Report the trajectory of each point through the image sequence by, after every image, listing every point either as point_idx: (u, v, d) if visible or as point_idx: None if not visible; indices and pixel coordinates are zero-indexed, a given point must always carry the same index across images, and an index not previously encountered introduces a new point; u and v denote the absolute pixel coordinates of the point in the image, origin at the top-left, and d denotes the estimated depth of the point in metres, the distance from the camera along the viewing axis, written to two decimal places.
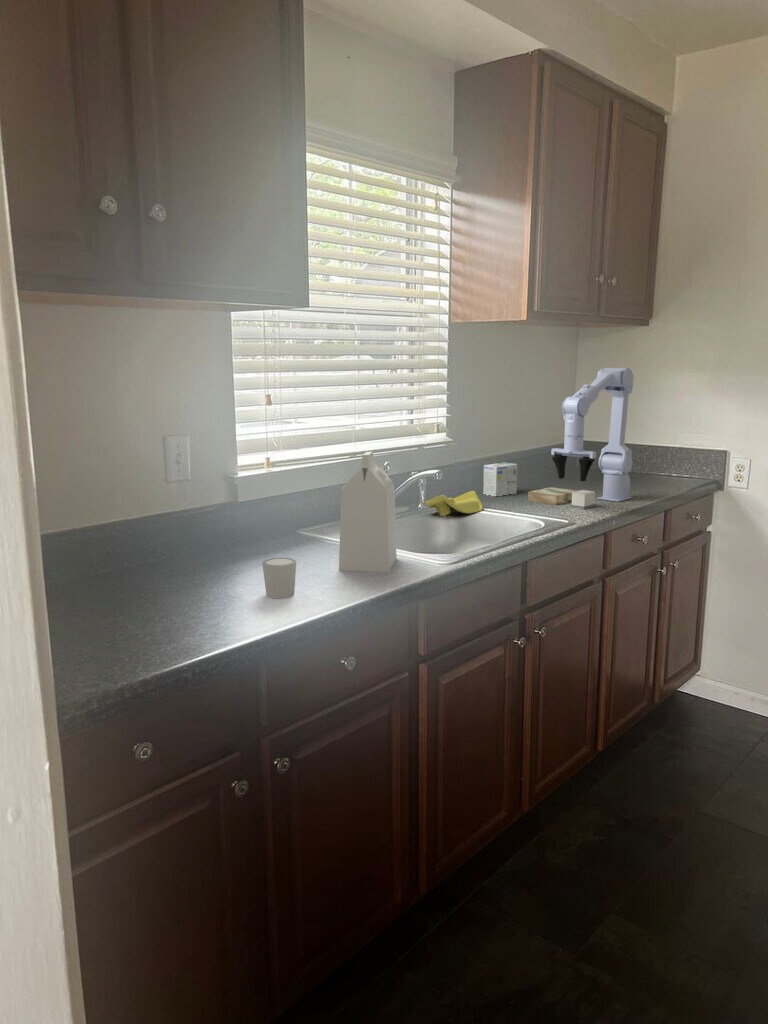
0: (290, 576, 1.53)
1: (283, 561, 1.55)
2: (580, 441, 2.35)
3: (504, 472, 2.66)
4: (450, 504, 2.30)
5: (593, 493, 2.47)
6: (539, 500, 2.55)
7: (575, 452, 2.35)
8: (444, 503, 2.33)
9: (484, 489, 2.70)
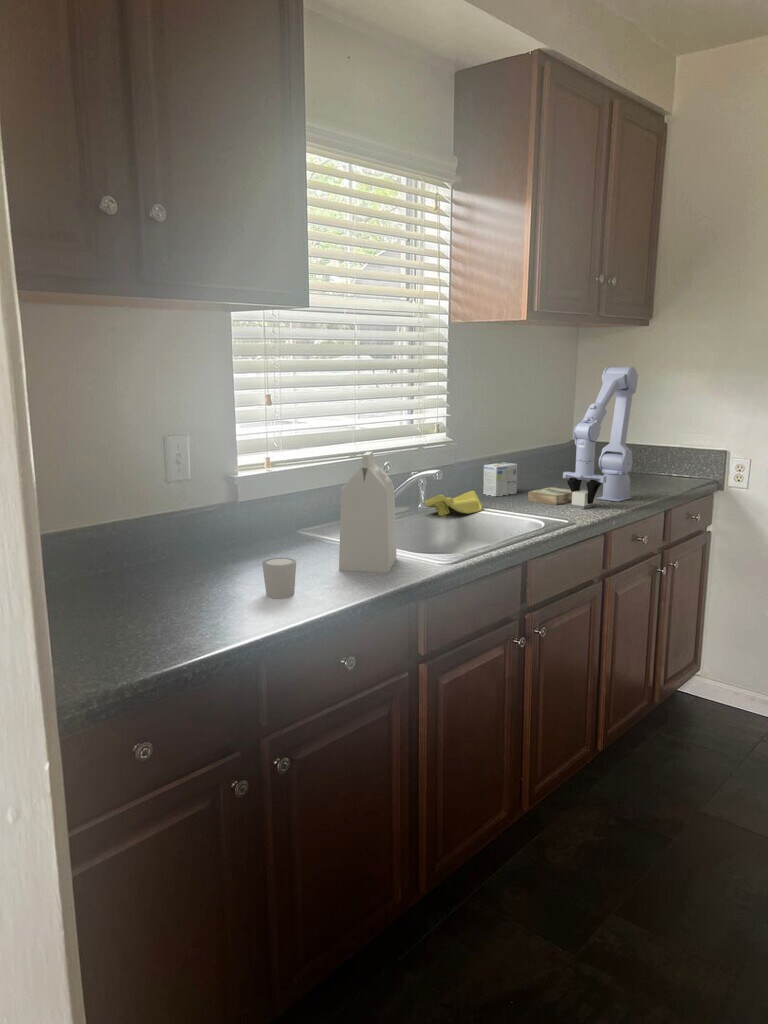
0: (290, 576, 1.53)
1: (283, 561, 1.55)
2: (591, 466, 2.42)
3: (504, 472, 2.66)
4: (449, 504, 2.30)
5: None
6: (539, 500, 2.55)
7: (586, 476, 2.42)
8: (443, 503, 2.33)
9: (484, 489, 2.70)
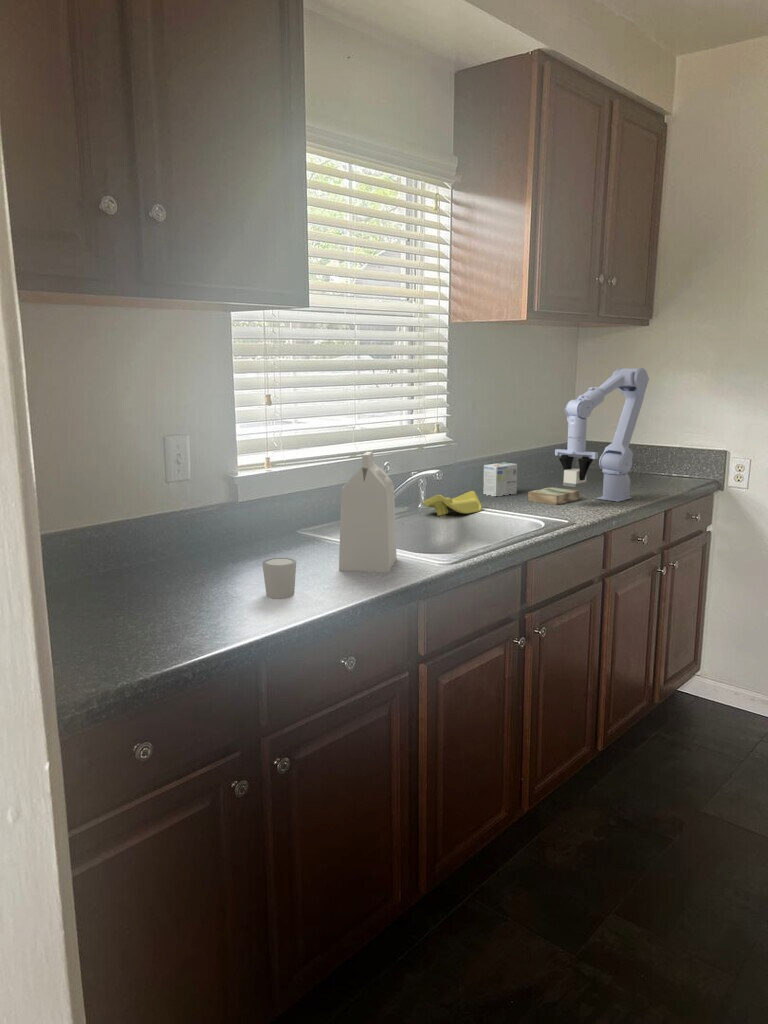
0: (290, 576, 1.53)
1: (283, 561, 1.55)
2: (583, 442, 2.45)
3: (504, 472, 2.66)
4: (447, 504, 2.30)
5: None
6: (539, 500, 2.55)
7: (578, 453, 2.44)
8: (441, 503, 2.33)
9: (484, 489, 2.70)
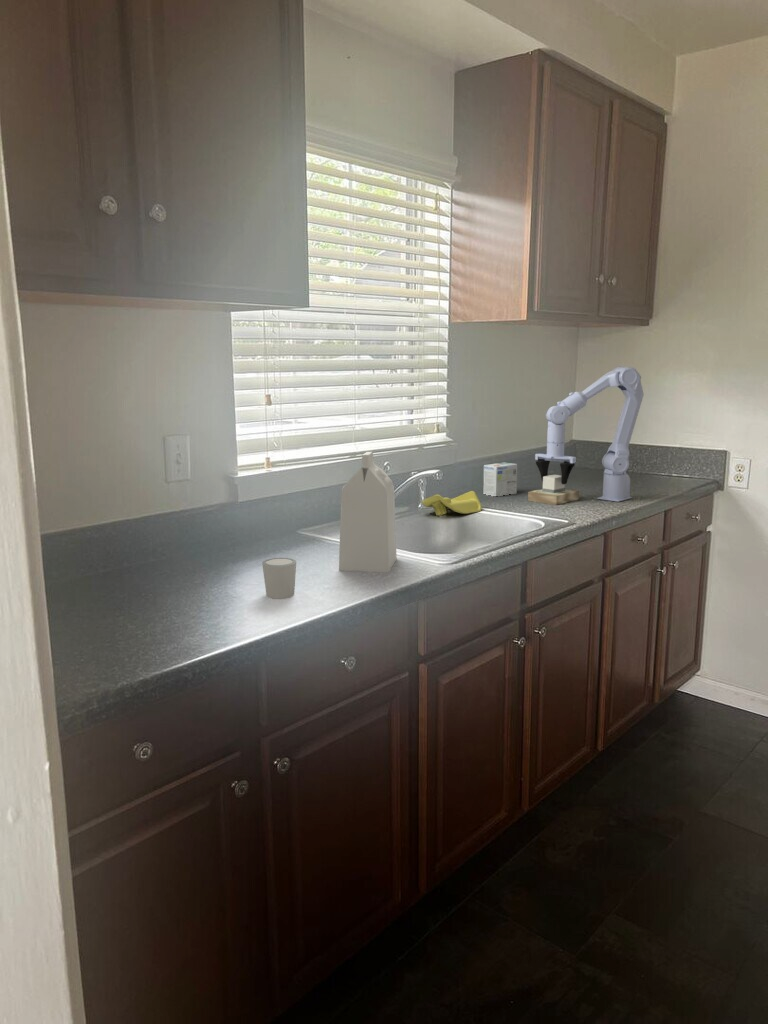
0: (290, 576, 1.53)
1: (283, 561, 1.55)
2: (561, 447, 2.54)
3: (504, 472, 2.66)
4: (445, 504, 2.30)
5: None
6: (539, 500, 2.55)
7: (556, 457, 2.53)
8: (440, 503, 2.33)
9: (484, 489, 2.70)
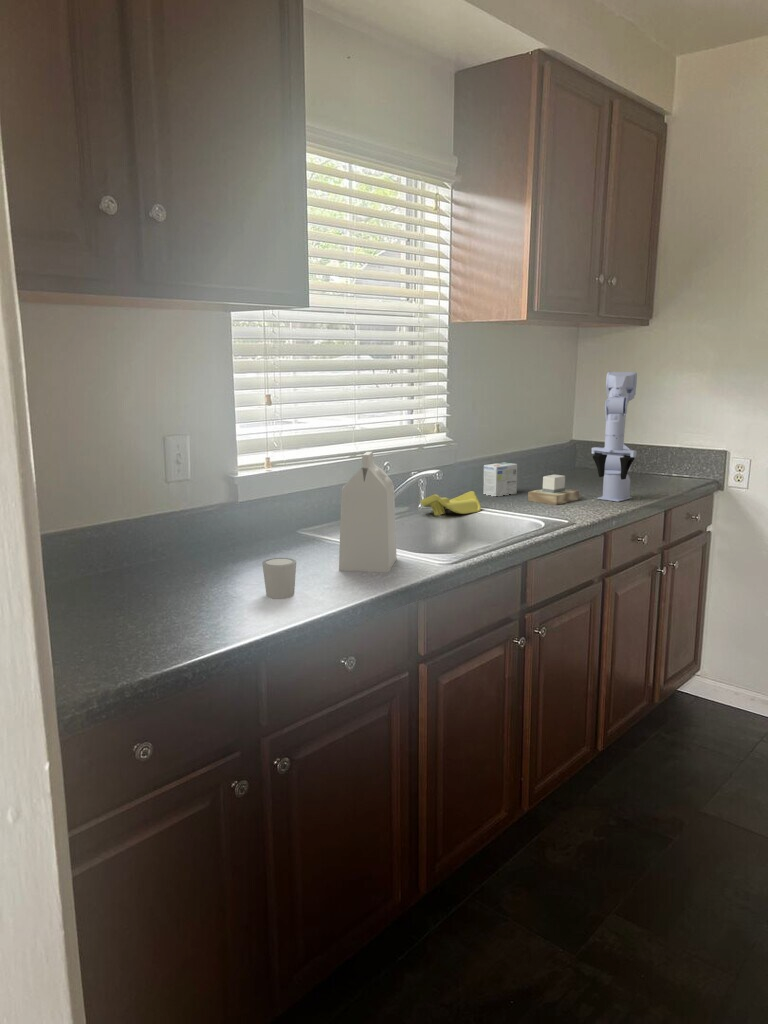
0: (290, 576, 1.53)
1: (283, 561, 1.55)
2: (621, 440, 2.40)
3: (504, 472, 2.66)
4: (443, 504, 2.30)
5: (563, 477, 2.58)
6: (539, 500, 2.55)
7: (616, 451, 2.40)
8: (438, 503, 2.33)
9: (484, 489, 2.70)
